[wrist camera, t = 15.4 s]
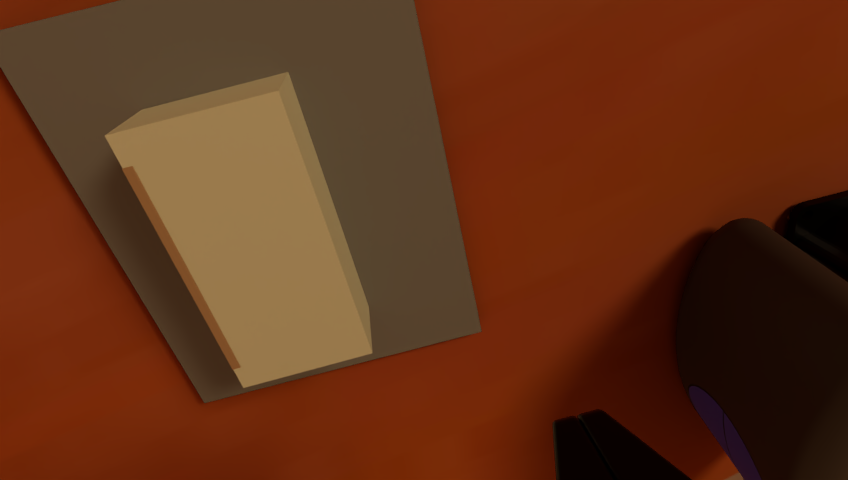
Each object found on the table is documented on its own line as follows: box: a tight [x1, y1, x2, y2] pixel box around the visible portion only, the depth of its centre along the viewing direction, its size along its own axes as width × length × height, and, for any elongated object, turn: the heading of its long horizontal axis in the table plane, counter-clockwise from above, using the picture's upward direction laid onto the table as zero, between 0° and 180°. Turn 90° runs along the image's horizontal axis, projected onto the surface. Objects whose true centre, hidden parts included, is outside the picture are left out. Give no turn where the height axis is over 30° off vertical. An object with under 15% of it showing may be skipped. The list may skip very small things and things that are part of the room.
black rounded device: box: [676, 218, 848, 480], centre depth 22 cm, size 16×5×10 cm, turn 23°
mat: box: [0, 0, 482, 403], centre depth 20 cm, size 13×16×1 cm
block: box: [105, 72, 372, 388], centre depth 18 cm, size 3×10×5 cm
